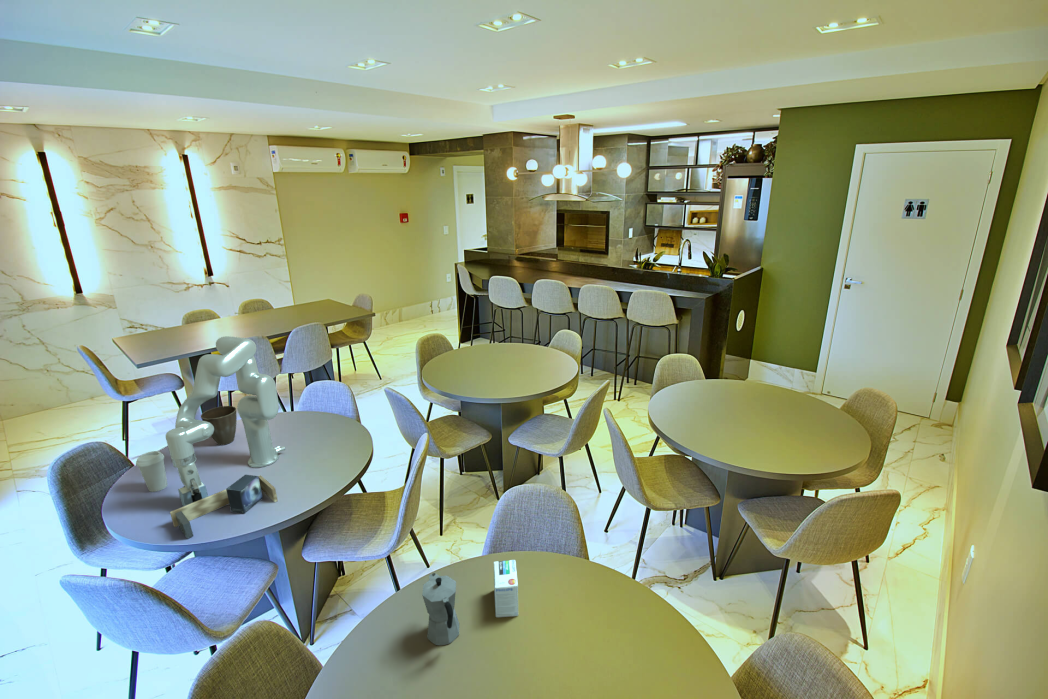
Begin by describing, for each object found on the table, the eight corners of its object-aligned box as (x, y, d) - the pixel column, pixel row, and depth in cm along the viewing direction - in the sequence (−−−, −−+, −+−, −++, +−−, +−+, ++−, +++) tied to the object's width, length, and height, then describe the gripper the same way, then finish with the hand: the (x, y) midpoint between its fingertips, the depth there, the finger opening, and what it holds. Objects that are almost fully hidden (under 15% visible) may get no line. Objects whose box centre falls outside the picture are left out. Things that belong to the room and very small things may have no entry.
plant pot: (210, 438, 250) (202, 409, 245) (243, 432, 256) (237, 403, 251) (206, 452, 237) (198, 421, 232) (241, 444, 243) (234, 414, 238)
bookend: (185, 524, 185) (181, 510, 183) (193, 535, 179) (189, 522, 177) (178, 526, 184) (174, 513, 182) (187, 538, 177) (183, 525, 175)
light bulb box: (494, 589, 152) (492, 560, 148) (516, 587, 152) (515, 558, 149) (495, 618, 141) (493, 588, 138) (519, 616, 142) (518, 586, 139)
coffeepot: (419, 621, 141) (413, 569, 136) (451, 608, 145) (446, 557, 140) (437, 664, 128) (431, 609, 123) (471, 648, 132) (467, 594, 127)
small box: (245, 514, 190) (239, 490, 187) (230, 512, 192) (224, 489, 188) (264, 498, 200) (259, 475, 197) (249, 496, 201) (244, 473, 198)
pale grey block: (205, 496, 203) (200, 480, 200) (209, 501, 199) (205, 485, 197) (182, 505, 197) (177, 488, 195) (186, 510, 194) (181, 494, 191)
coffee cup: (177, 483, 212) (168, 451, 207) (155, 495, 204) (145, 463, 199) (161, 479, 215) (152, 448, 210) (138, 491, 207) (128, 460, 202)
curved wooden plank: (263, 487, 207) (260, 475, 205) (277, 501, 198) (275, 487, 196) (173, 525, 185) (169, 512, 183) (185, 542, 176) (181, 528, 174)
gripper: (202, 462, 189) (212, 502, 194) (188, 448, 200) (198, 485, 205) (179, 471, 184) (190, 511, 189) (166, 455, 195) (176, 493, 200)
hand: (194, 497), depth 197 cm, fingers open, 8 cm apart
